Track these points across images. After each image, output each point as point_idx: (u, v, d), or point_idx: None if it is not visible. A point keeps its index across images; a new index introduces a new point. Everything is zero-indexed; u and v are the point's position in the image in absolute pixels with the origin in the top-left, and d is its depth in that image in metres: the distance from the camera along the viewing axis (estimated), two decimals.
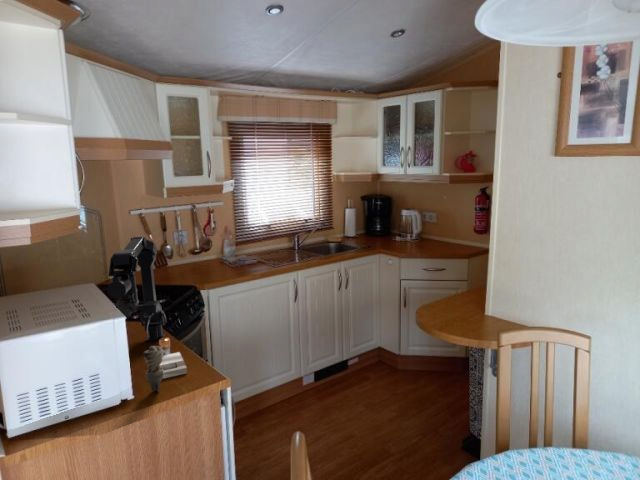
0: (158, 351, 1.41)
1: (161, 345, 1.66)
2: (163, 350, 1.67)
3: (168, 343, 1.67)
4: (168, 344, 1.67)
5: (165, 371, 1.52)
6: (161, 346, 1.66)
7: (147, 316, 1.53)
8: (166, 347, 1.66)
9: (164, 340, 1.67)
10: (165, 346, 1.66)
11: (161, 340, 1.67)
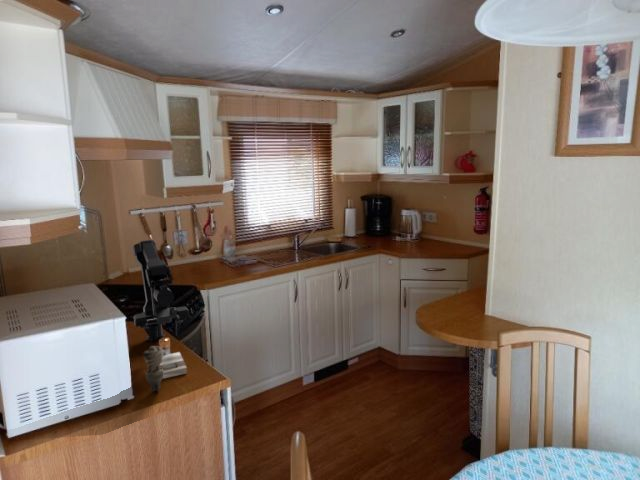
0: (158, 351, 1.41)
1: (161, 345, 1.66)
2: (163, 350, 1.67)
3: (168, 343, 1.67)
4: (168, 344, 1.67)
5: (165, 371, 1.52)
6: (161, 346, 1.66)
7: (181, 321, 1.67)
8: (166, 347, 1.66)
9: (164, 340, 1.67)
10: (165, 346, 1.66)
11: (161, 340, 1.67)
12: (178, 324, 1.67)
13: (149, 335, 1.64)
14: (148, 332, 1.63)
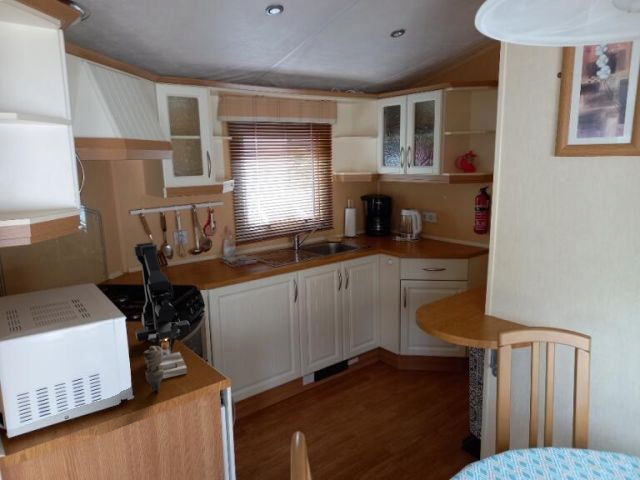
0: (158, 351, 1.41)
1: (161, 345, 1.66)
2: (163, 350, 1.67)
3: (168, 343, 1.67)
4: (168, 344, 1.67)
5: (165, 371, 1.52)
6: (161, 346, 1.66)
7: (175, 336, 1.67)
8: (166, 347, 1.66)
9: (164, 340, 1.67)
10: (165, 346, 1.66)
11: (161, 340, 1.67)
12: (172, 340, 1.67)
13: None
14: (157, 345, 1.65)
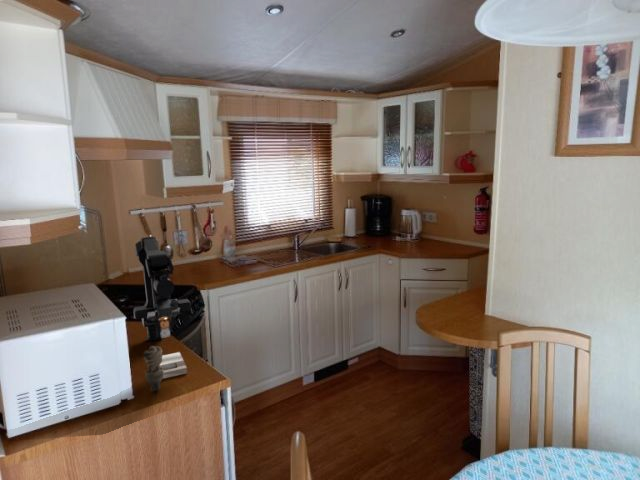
0: (158, 351, 1.41)
1: (160, 324, 1.58)
2: (162, 329, 1.58)
3: (168, 322, 1.59)
4: (168, 323, 1.59)
5: (165, 371, 1.52)
6: (160, 325, 1.58)
7: (175, 315, 1.58)
8: (166, 326, 1.58)
9: (163, 319, 1.58)
10: (165, 325, 1.58)
11: (160, 319, 1.58)
12: (172, 318, 1.59)
13: (157, 327, 1.58)
14: (156, 324, 1.57)
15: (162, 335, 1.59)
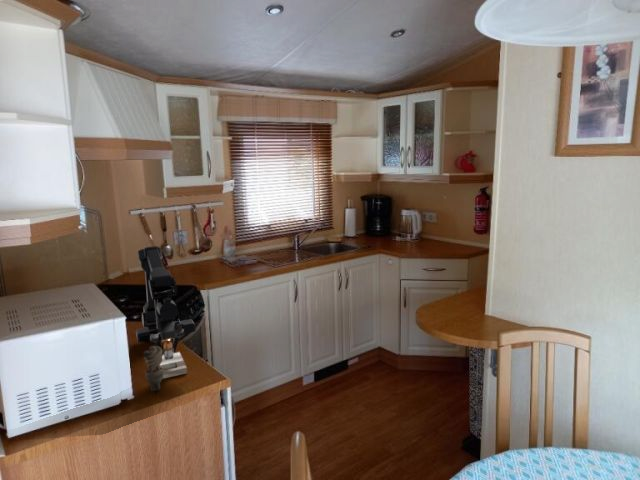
0: (158, 351, 1.41)
1: (163, 346, 1.53)
2: (166, 351, 1.53)
3: (171, 344, 1.54)
4: (171, 345, 1.54)
5: (165, 371, 1.52)
6: (164, 347, 1.53)
7: (178, 337, 1.53)
8: (169, 348, 1.53)
9: (167, 340, 1.53)
10: (168, 347, 1.53)
11: (164, 340, 1.53)
12: (176, 340, 1.54)
13: None
14: (159, 346, 1.52)
15: (165, 357, 1.54)
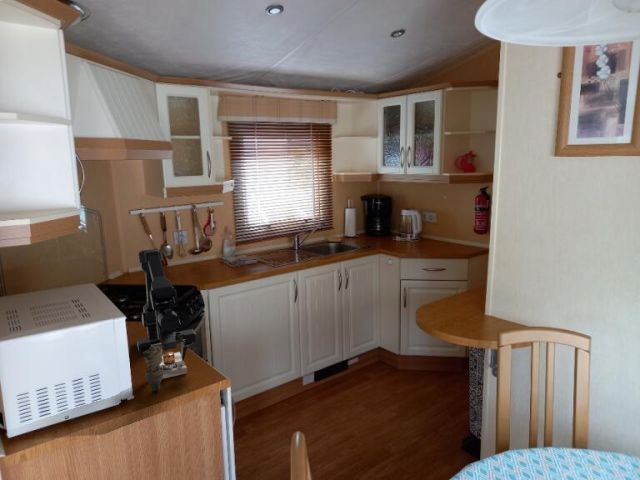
0: (158, 351, 1.41)
1: (165, 360, 1.54)
2: (167, 366, 1.54)
3: (173, 358, 1.55)
4: (173, 359, 1.55)
5: (165, 371, 1.52)
6: (165, 361, 1.54)
7: (187, 345, 1.55)
8: (170, 362, 1.54)
9: (168, 355, 1.54)
10: (170, 361, 1.54)
11: (165, 355, 1.54)
12: (184, 349, 1.56)
13: None
14: None
15: None
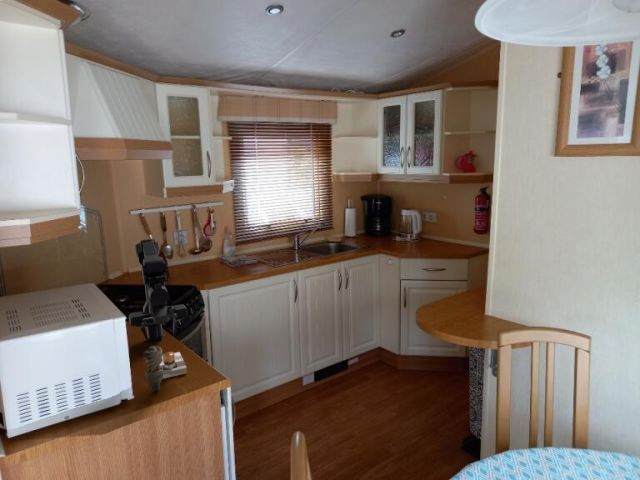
0: (158, 351, 1.41)
1: (165, 360, 1.54)
2: (167, 366, 1.54)
3: (173, 358, 1.55)
4: (173, 359, 1.55)
5: (165, 371, 1.52)
6: (165, 361, 1.54)
7: (179, 320, 1.58)
8: (170, 362, 1.54)
9: (168, 355, 1.54)
10: (170, 361, 1.54)
11: (165, 355, 1.54)
12: (176, 323, 1.59)
13: (145, 335, 1.55)
14: (144, 332, 1.55)
15: None
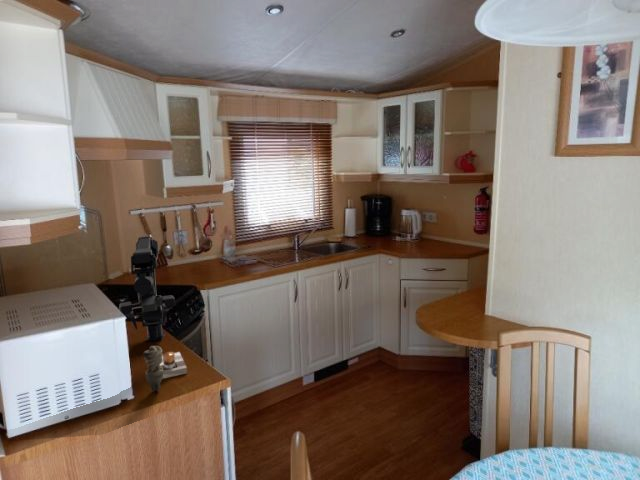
0: (158, 351, 1.41)
1: (165, 360, 1.54)
2: (167, 366, 1.54)
3: (173, 358, 1.55)
4: (173, 359, 1.55)
5: (165, 371, 1.52)
6: (165, 361, 1.54)
7: (167, 309, 1.65)
8: (170, 362, 1.54)
9: (168, 355, 1.54)
10: (170, 361, 1.54)
11: (165, 355, 1.54)
12: (164, 313, 1.66)
13: (134, 324, 1.62)
14: (133, 320, 1.61)
15: None
